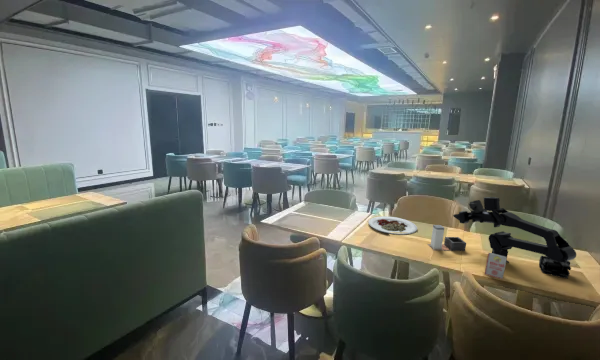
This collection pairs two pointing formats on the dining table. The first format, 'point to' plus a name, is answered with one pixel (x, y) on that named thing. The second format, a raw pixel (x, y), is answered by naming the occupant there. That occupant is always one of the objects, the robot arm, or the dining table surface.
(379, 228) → the plated food
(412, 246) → the dining table surface
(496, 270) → the tea bag
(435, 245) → the plug
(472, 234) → the dining table surface
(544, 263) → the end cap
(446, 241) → the socket deck
